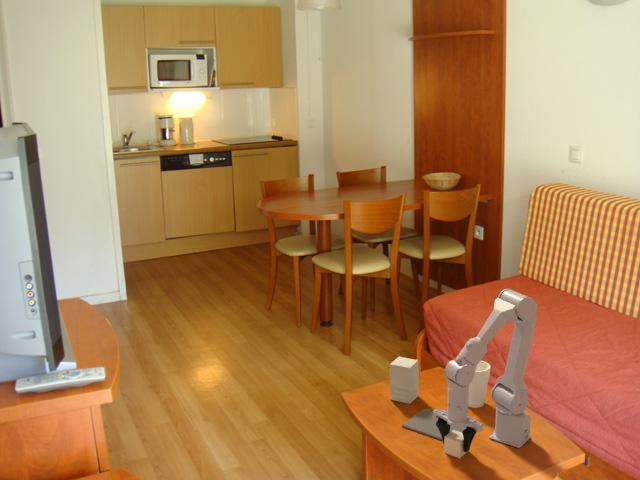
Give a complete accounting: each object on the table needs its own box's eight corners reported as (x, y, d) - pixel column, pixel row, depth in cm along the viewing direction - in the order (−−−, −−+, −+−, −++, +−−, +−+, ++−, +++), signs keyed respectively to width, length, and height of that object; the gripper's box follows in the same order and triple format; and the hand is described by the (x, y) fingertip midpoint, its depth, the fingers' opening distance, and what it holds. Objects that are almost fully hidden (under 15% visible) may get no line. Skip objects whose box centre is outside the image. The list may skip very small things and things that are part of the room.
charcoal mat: (477, 426, 221) (477, 424, 221) (455, 445, 210) (455, 443, 210) (425, 409, 232) (425, 407, 232) (401, 426, 221) (401, 424, 221)
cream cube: (468, 451, 207) (469, 435, 206) (460, 458, 203) (460, 442, 202) (452, 445, 210) (453, 429, 209) (444, 452, 207) (444, 436, 205)
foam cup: (452, 401, 237) (454, 364, 234) (473, 394, 242) (474, 357, 239) (474, 412, 229) (475, 374, 226) (495, 404, 234) (496, 367, 231)
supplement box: (419, 395, 242) (419, 359, 239) (409, 404, 235) (410, 368, 232) (398, 391, 245) (398, 355, 242) (389, 399, 239) (389, 363, 236)
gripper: (427, 400, 205) (426, 444, 208) (474, 415, 196) (473, 461, 199) (440, 391, 210) (439, 435, 213) (486, 405, 201) (485, 450, 204)
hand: (456, 447), depth 207 cm, fingers open, 6 cm apart
